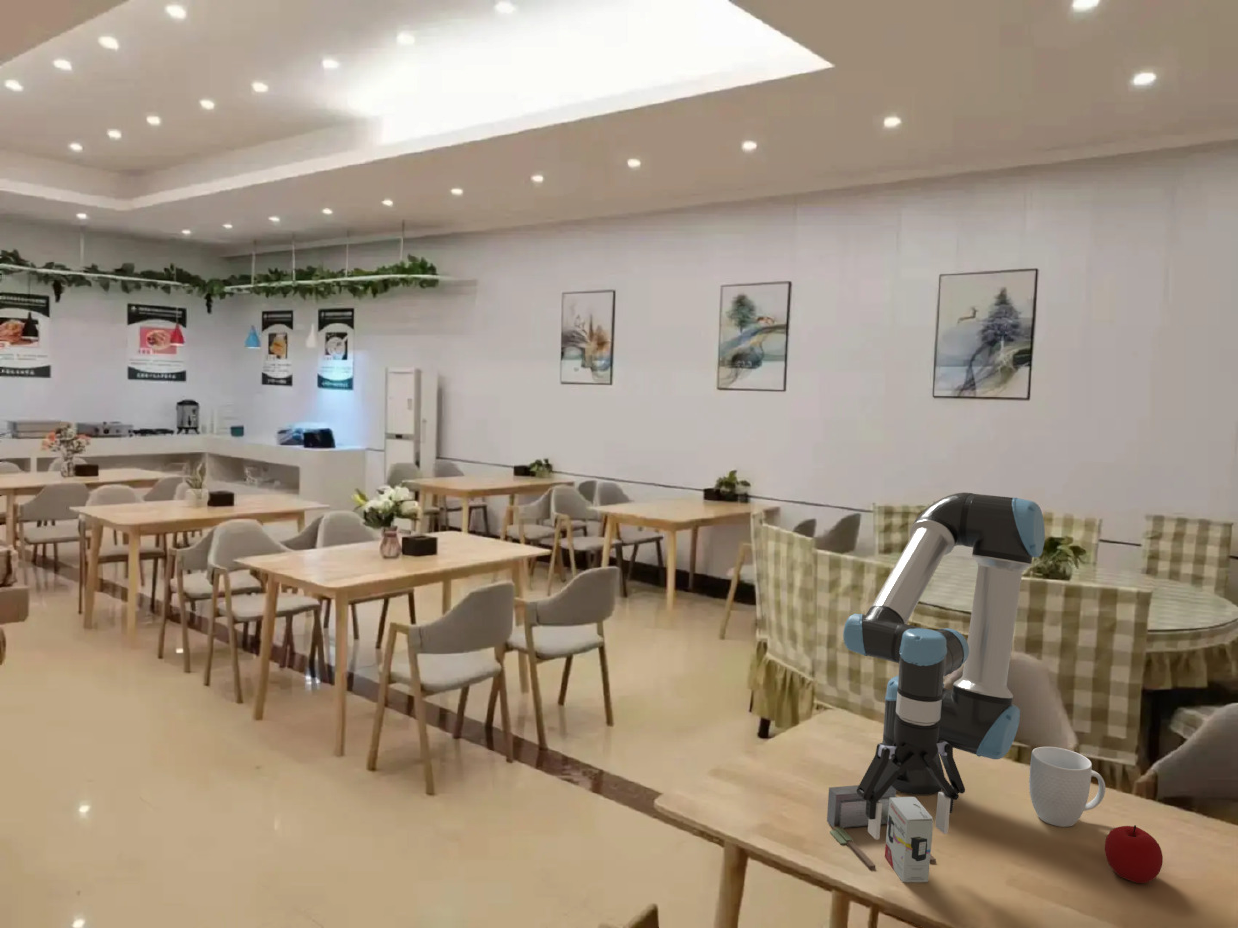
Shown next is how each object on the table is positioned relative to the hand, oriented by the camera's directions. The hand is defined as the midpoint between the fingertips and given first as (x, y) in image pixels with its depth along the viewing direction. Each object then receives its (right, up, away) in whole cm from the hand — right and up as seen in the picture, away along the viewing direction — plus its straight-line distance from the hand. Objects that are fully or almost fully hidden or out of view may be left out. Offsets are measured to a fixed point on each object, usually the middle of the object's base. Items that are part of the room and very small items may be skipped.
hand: (907, 832), depth 156 cm
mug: (+38, -7, +22) cm, 44 cm away
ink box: (0, -7, +1) cm, 7 cm away
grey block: (-4, -5, +17) cm, 18 cm away
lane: (-2, -6, +9) cm, 11 cm away
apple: (+41, -9, +2) cm, 42 cm away
